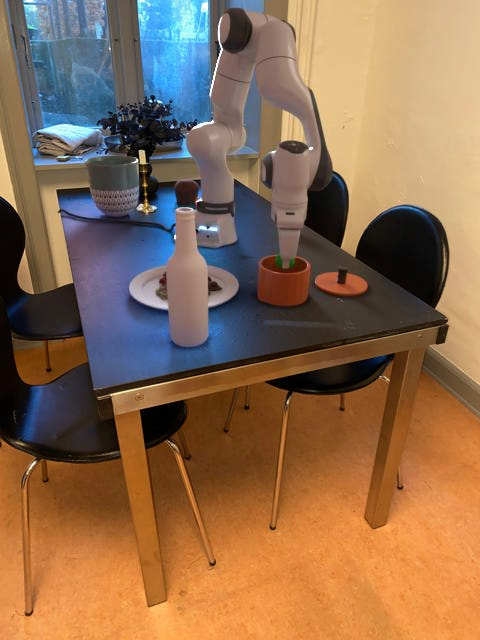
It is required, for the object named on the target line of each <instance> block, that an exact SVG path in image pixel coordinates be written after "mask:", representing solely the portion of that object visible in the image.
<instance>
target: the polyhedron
mask: <svg viewBox="0 0 480 640" xmlns="http://www.w3.org/2000/svg"><path fill="white" fill-rule="evenodd" d="M276 255H277V257H276V263H277V265H278V267H280V268H281V269H283V268H282V259H281V258H280V252H278V254H276ZM294 263H295V259H294V260H290V263H289V268H288V269H290V268H291V267H292V266H293V265H294ZM283 270H287V269H283Z"/></svg>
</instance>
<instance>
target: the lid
mask: <svg viewBox="0 0 480 640" xmlns="http://www.w3.org/2000/svg"><path fill="white" fill-rule="evenodd" d="M348 271H349V267H348V266H344V265H340V266H338V268H337V271H330V272H324V273H321V274H319V275H317V276H316V277H315V280H314V284H315V286H316V287H317V288H318V289H319V290H320V291H322V292H325V293H327V294H330V295H335V296H340V297H352V296H354V297H355V296H359V295H362V294H364V293H365V292H366V291H367V290H368V287H369V286H368V285H369V284H368V282H367V281H366V280H365V279H364V278H362V277H360V276H358V275H356V274H353V273H348Z"/></svg>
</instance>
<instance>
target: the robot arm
mask: <svg viewBox="0 0 480 640" xmlns="http://www.w3.org/2000/svg"><path fill="white" fill-rule="evenodd" d="M217 39H218V43H219V45H220V48H221V50H220V53H219V56H218V59H217V63H216V67H215V69H214V75H213V80H212V82H211V83H212V84H211V88H210V92H209V100H210V102H211V104H212V108H213V114H212V115H213V116H212V120H211V121H210V122H203V123H200V124H198V125H195V126H194V127H193V128H191V129H190V130H189V131H188V133H187V135H186V138H185V145H186V150H187V152H188V154H189V155H190V156H191V157H192V158H193V159H194V161H195V163H196V165H197V168H198V172H199V177H200V196H198V197H197V198H196V204H195V209H194V210H195V213H194V215H195V219H194V221H195V230H196V240H197V247H203V248H212V249H217V248H220V247H222V246H228V245H232V244H234V243H236V242H237V241H238V236H237V231H236V225H235V214H236V203H235V202H236V200H235V198H234V197H235V195H234V189H235V187H234V186H235V185H234V184H235V178H234V174H233V173H232V172H231V171H230V170H229V167H228V164H227V163H228V162H227V157H228V156H230V155H234V154H236V153H237V152H239V151H240V150H241V149H242V148H243V147H244V146H245V144H246V142H247V131H246V129H245V127H244V115H245V114H244V113H245V108H246V107H245V106H246V102H247V99H248V95H249V92H250V91H249V90H250V87H251V84H252V80H253V75H254V73H255V84H256V88H257V92H258V94H259V95H260V97H261V98H262V100H264V101H265V102H266V103H267V104H268V105H270V106H272V107H274V108H276V109H280V110H283V111H285V112H286V113H289V114H291V115H292V116H294V117H296V118H297V119H298V121H299V122H300V123H301V126H302V130H303V134H304V135H303V136H304V140H305V143H304V142H302V141H299V140H293V139H292V140H290V139H289V140H284V141H281V142H279V143H278V144H277V145H276V148H275V149H276V150H272V151H269V152H267V153H266V154H265V156H263V158H262V159H261V160H260V182H261V183H262V184H263V185H264V186H265V187H266V188H267V189H269V190H273V192H272V196H271V205H270V206H271V207H270V218H271V219H272V220H273V222H274V223H275V227H276V229H277V232H278V246H279V253H280V258H281V259H282V268H283V269H288V268H289V263H290V260H294V259H295V257H296V256H297V253H298V248H299V241H300V237H301V229H302V230H303V229H304V224H305V221H306V220H307V214H308V213H307V211H308V201H309V197H308V191H310V192H311V191H312V192H320V191H322V190H324V188H326V187H327V186H328V185H329V184H330V183H331V181H332V179H333V175H334V166H333V161H332V157H331V155H330V152H329V150H328V146H327V142H326V139H325V138H326V137H325V134H324V128H323V124H322V121H321V116H320V111H319V107H318V104H317V103H318V102H317V100H316V96H315V93H314V92H313V90H312V89H311V88H310V87H309V86H307V85H306V83H305V82H304V80H303V77H302V76H301V73H300V68H299V57H298V50H297V33H296V29H295V28H294V26H293V25H292V24H291V23H290V22H288V21H286V20H284V19H279V18H277V17H276V16H273V15H270V14H268V13H265V12H260V11H259V12H258V11H254V10H249V9H243V7H229V8H227V9H226V10H224V12H223V13H222V15H221V17H220V19H219V23H218V27H217ZM60 213H64V214H66V215H67V216H70V217H73V218H77V219H80V220H85V221H92V222H103V223H119V224H120V223H123V224H139V225H153V226H158V227H160V228H162V230H164V231H167V232H172V231H173V230H174V228H175V227H176V222H175V223H172V224H171V226H170V228H167V227H166V226H165V225H164V224H162V223H160V222H154V221H145V220H144V221H143V220H129V219H128V220H126V219H107V218H106V219H105V218H96V217H95V218H94V217H87V216H82V215H77V214H74V213H71V212H69V211H67V210H66V209H64V208H61V209H59V210H58V211H57V214H60ZM173 241H174V242H175V235H174V236H173Z"/></svg>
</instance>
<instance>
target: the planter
mask: <svg viewBox="0 0 480 640" xmlns="http://www.w3.org/2000/svg"><path fill="white" fill-rule="evenodd" d="M84 166H85V171H86V176H87V180H88V186H89V189H90V190H89V191H90V195H91V198H92V201H93V203H94V206H95V207H96V208H97V209H98V210H99V211H100V212H101V213H102V214H104V215H106V216H108V217H113V218H119V217H125V216H127V215H129V214H130V213H132V212H133V211H134V210H135V208H136V207H137V205H138V203H139V197H140V177H139V176H140V175H139V159H138V158H137V157H133V156H130V155H129V156H127V155H100V156H99V155H98V156H93V157H89V158H87V159H85V160H84Z"/></svg>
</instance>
